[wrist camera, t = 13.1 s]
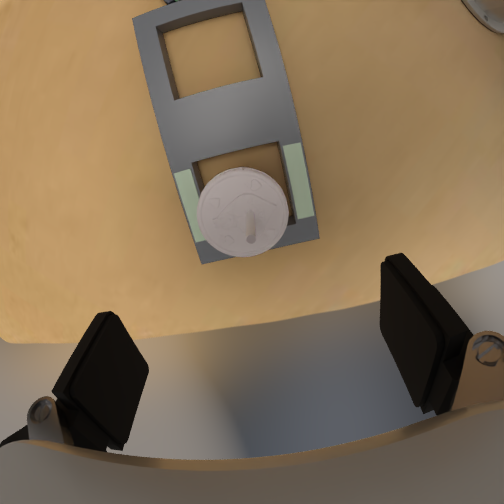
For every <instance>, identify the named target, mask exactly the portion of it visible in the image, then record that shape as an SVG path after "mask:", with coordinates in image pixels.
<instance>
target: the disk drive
mask: <svg viewBox="0 0 504 504" xmlns="http://www.w3.org/2000/svg"><path fill="white" fill-rule="evenodd" d="M164 1H165V2H166V4H167V5H169V4H172V3H175V2H178V1H181V0H164Z"/></svg>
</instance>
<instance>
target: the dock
mask: <svg viewBox="0 0 504 504" xmlns="http://www.w3.org/2000/svg"><path fill="white" fill-rule="evenodd" d="M241 11H243V15H244V18H245V21H246V25H247V28H248V32H249V35H250V39H251V42H252V46H253V49H254V53H255V56H256V60H257V64H258V67H259V71H260V75H261V78H256V79H251V80H247V81H242V82H238V83H234V84H230V85H226V86H222V87H218V88H214V89H211V90H207V91H203V92H200V93H197V94H193V95H190V96H187V97H184V98H180V99H179V95H178V92H177V88H176V84H175V80H174V76H173V72H172V68H171V64H170V60H169V56H168V52H167V48H166V44H165V40H164V36H163V33H165V32H168V31H171V30H174V29H177V28H180V27H183V26H186V25H189V24H193V23H196V22H199V21H203V20H207V19H211V18H214V17H219V16H223V15H227V14H232V13H236V12H241ZM132 20H133V25H134V30H135V34H136V39H137V43H138V48H139V52H140V56H141V61H142V65H143V69H144V73H145V77H146V81H147V85H148V89H149V93H150V97H151V101H152V105H153V108H154V112H155V116H156V119H157V123H158V127H159V130H160V134H161V137H162V141H163V144H164V148H165V151H166V155H167V158H168V162H169V165H170V168H171V172H172V175H173V178H174V181H175V185H176V188H177V191H178V194H179V197H180V201H181V204H182V207H183V210H184V213H185V216H186V219H187V222H188V225H189V228H190V231H191V234H192V237H193V240H194V243H195V246H196V249H197V252H198V255H199V258H200V261H201V263H202V264H206V263H210V262H215V261H219V260H224V259H228V258H233V257H235V256H230V255H227V254H224V253H222V252H220V251H218V250H217V249H215V248H214V247H213V246H211V245H210V244H209V243H208V242H207V240H206V239H205V238H204V236H203V235H202V233H201V231H200V229H199V226H198V222H197V206H198V201H199V198H200V195H201V192H202V191H203V189H204V185H203V182H202V179H201V175H200V172H199V168H198V165H197V161H199V160H202V159H206V158H210V157H213V156H217V155H221V154H225V153H229V152H233V151H237V150H241V149H245V148H249V147H254V146H258V145H263V144H267V143H272V142H277V144H278V148H279V153H280V157H281V162H282V166H283V171H284V175H285V180H286V185H287V190H288V194H289V199H290V204H291V209H292V214H293V216H289V217H288V223H287V227H286V229H285V232H284V234H283V235H282V237H281V238H280V240H279V241H278V242H277V243H276V244H275V245H274V246H273V247H272V248H270V249H274V248H278V247H283V246H287V245H292V244H296V243H301V242H305V241H310V240H314V239H319V238H320V237H319V231H318V224H317V218H316V212H315V206H314V200H313V194H312V189H311V183H310V178H309V173H308V168H307V163H306V158H305V153H304V148H303V143H302V138H301V134H300V129H299V125H298V120H297V116H296V111H295V107H294V103H293V99H292V95H291V91H290V87H289V83H288V79H287V75H286V71H285V67H284V64H283V60H282V56H281V53H280V49H279V45H278V42H277V39H276V35H275V32H274V28H273V25H272V22H271V19H270V15H269V12H268V9H267V6H266V3H265V0H181V1H178V2H175V3H172V4H169V5H166V6H163V7H160V8H157V9H155V10H152V11H149V12H147V13H144V14H142V15H139V16H137V17H135V18H132Z"/></svg>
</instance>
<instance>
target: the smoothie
mask: <svg viewBox="0 0 504 504" xmlns="http://www.w3.org/2000/svg"><path fill="white" fill-rule="evenodd" d="M288 216H289V211H288V205H287V200H286V197H285V195H284V192H283V190H282V188H281V187H280V186H279V185H278V183H277V182H276V181H275V180H274V179H273V178H271V177H270V176H269V175H267V174H266V173H264V172H262V171H259V170H256V169H253V168H250V167H245V166H243V167H238V168H233V169H228V170H226V171H224V172H222V173H219V174H217V175H216V176H215V177H214V178H213V179H211V180H210V181H209V182H208V183H207V185H206V186H205V188H204V189H203V191H202V192H201V195H200V198H199V201H198V206H197V222H198V226H199V229H200V231H201V233H202V235H203V236H204V238H205V239H206V240H207V242H208V243H209V244H210V245H211V246H213V247H214V248H215V249H217V250H218V251H220V252H222V253H224V254H227V255H230V256H235V257H250V256H255V255H258V254H261V253H263V252H265V251H267V250H269V249H270V248H272V247H273V246H274V245H275V244H276V243H277V242H278V241H279V240H280V238H281V237H282V235H283V234H284V232H285V229H286V227H287V223H288Z"/></svg>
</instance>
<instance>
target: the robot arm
mask: <svg viewBox="0 0 504 504" xmlns="http://www.w3.org/2000/svg"><path fill="white" fill-rule="evenodd" d="M462 1H463V2H464V4H465V5H466V6H467V8H468V9H469V10H470V11H471V13H472V14H473V15H474V16H475V17H476V18H477V19H478V20H479V21H480V22H481V23H482V24H484V25H485V26H486V27H487V28H489V29H490V30H492V31H494V32H496V33H501V34H502V33H504V0H462ZM380 302H381V303H380V330H381V333H382V335H383V337H384V339H385V341H386V343H387V345H388V347H389V350H390V352H391V354H392V356H393V358H394V360H395V362H396V364H397V367H398V369H399V371H400V373H401V376H402V378H403V380H404V382H405V384H406V387H407V389H408V391H409V393H410V396H411V398H412V401H413V403H414V405H415V406H416V407H419V406H420V407H421V409H422V412H423V414H425V413H427V412H430V411H432V410H434V411H435V413H436V415H438V416H435V417H432V418H429V419H426V420H423V421H420V422H417V423H414V424H411V425H409V426H406V427H403V428H399V429H396V430H394V431H390V432H387V433H384V434H380V435H376V436H373V437H369V438H365V439H361V440H357V441H353V442H349V443H345V444H341V445H336V446H331V447H326V448H321V449H316V450H311V451H305V452H298V453H292V454H284V455H276V456H267V457H257V458H244V459H227V460H226V459H224V460H181V459H162V458H149V457H137V456H129V455H122V454H114V453H108V452H107V451H106V448H107V446H108V447H109V448H110V449H114V450H121V451H122V450H123V447H124V444H125V443H126V442H127V441H128V438H129V435H130V431H131V428H132V424H133V421H134V417H135V414H136V411H137V408H138V404H139V401H140V398H141V394H142V391H143V389H144V385H145V382H146V379H147V376H148V373H149V367H148V364H147V362H146V361H145V360H144V358H143V356H142V355H141V353H140V352H139V350H138V348H137V347H136V345H135V344H134V342H133V340H132V338H131V337H130V335H129V333H128V332H127V330H126V328H125V327H124V325H123V323H122V321H121V320H120V318H119V316H118V315H116V314H114V313H113V312H112V311H108V312H101V313H98V314H97V315H96V316H95V318H94V319H93V321H92V322H91V324H90V326H89V327H88V329H87V330H86V332H85V334H84V335H83V337H82V339H81V340H80V342H79V343H78V345H77V347H76V349H75V350H74V352H73V354H72V355H71V357H70V359H69V361H68V363H67V364H66V366H65V368H64V369H63V371H62V373H61V375H60V377H59V379H58V380H57V382H56V384H55V386H54V388H53V390H52V393H53V394H54V395H55V396H56V397H57V400H56V401H55V400H54V399H52V398H51V397H48V396H45V397H42V398H39V399H38V400H36V401H35V402H34V403H33V404H32V406H31V407H30V409H29V411H28V414H27V424H28V425H26V426H25V427H23V428H22V429H20V430H19V431H17V432H15V433H14V434H12V435H11V436H9V437H8V438H6V439H5V440H3V441H2V442H1V444H0V504H504V336H502V335H501V334H499V333H496V332H493V331H483V332H479V333H477V334H475V335H473V334H472V332H470V330H469V329H468V327H467V326H466V324H465V323H464V322H463V321H462V319H461V318H460V317H459V316H458V314H457V313H456V312H455V310H454V309H453V308H452V307H451V305H450V304H449V303H448V302H447V301H446V299H445V298H444V297H443V296H442V295H441V294H440V292H439V291H438V290H437V289H436V288H435V287H434V286H433V285H431V284H430V283H429V282H428V281H427V279H426V278H425V277H424V276H423V275H422V274H421V273H420V271H419V270H418V269H417V268H416V267H415V266H414V265H413V264H412V263H411V261H410V260H409V259H408V258H407V257H406V256H405V255H404V254H403V253H398V254H394V255H390V256H387V257H386V258H385V261H384V262H382V263H381V300H380Z"/></svg>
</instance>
